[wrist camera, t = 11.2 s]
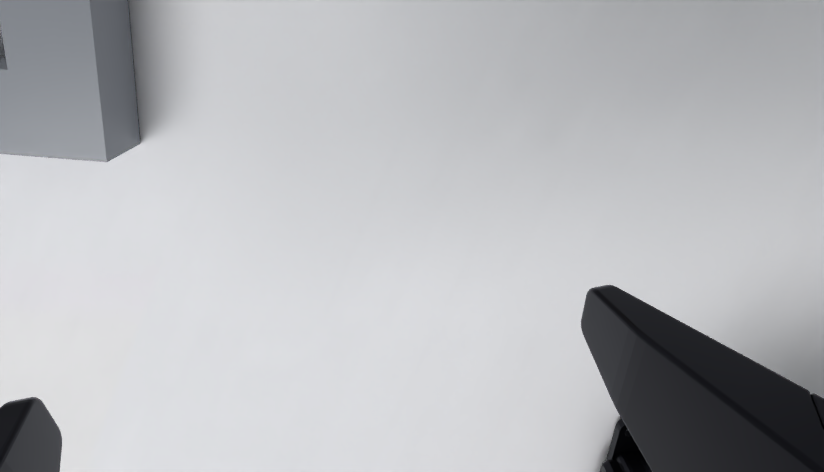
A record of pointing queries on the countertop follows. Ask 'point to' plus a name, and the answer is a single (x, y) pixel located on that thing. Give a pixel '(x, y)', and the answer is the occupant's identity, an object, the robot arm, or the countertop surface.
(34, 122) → the charging dock
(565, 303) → the countertop surface
